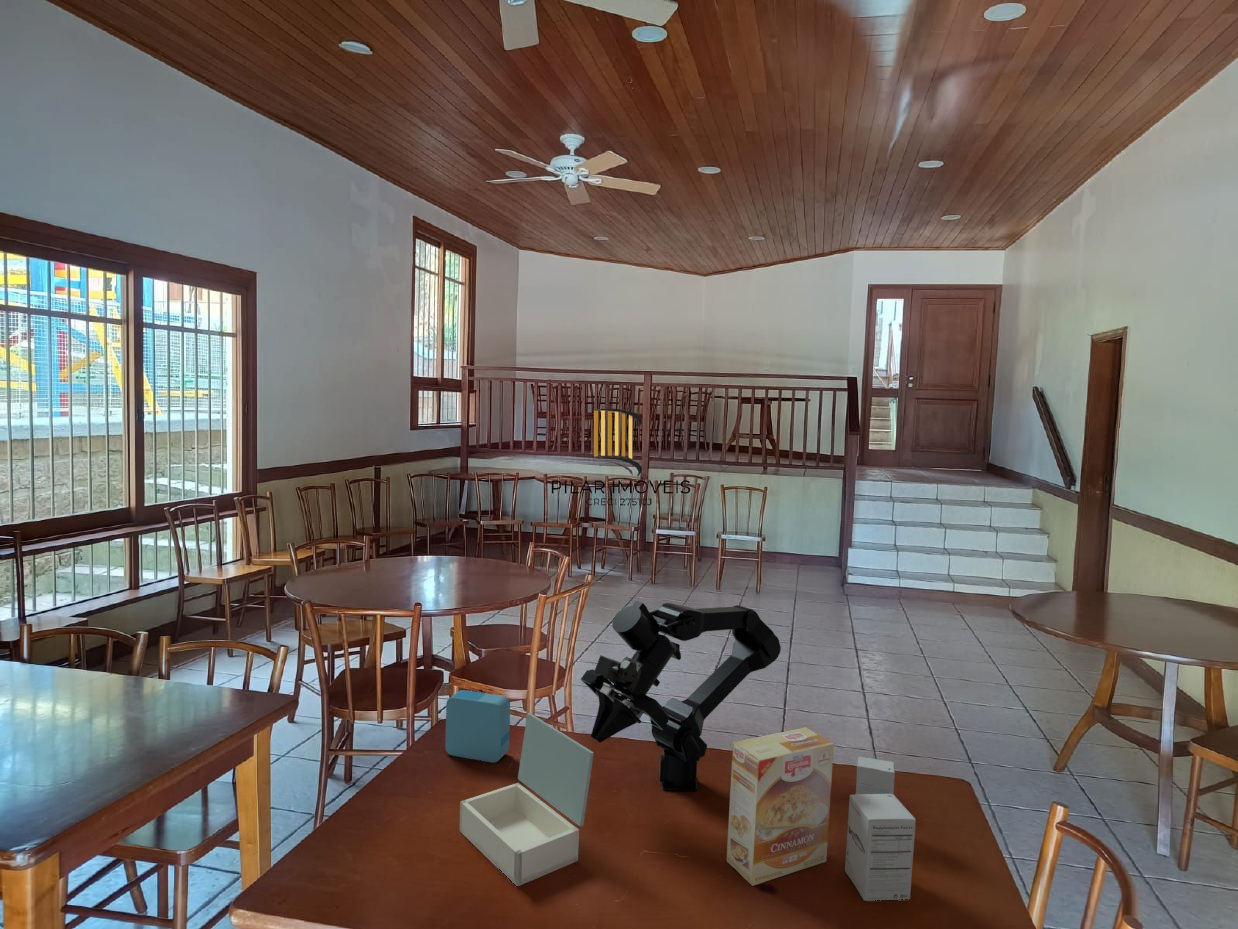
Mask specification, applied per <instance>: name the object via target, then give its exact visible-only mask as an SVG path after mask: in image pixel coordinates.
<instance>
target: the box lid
mask: <svg viewBox="0 0 1238 929" xmlns="http://www.w3.org/2000/svg"><path fill="white" fill-rule="evenodd" d="M525 720H526V721H525V726H524V732H523V733H524V734H523V740H522V748H521V754H520V761H519V767H518V774H517V780H518V781H520V783H523V784H524V785H525V786H526V787H527V788H529V789H530V790H532V791H533V792H535V794H537V795H538V796H539V797H540V798H542V799H543V800H545V801H546V802H547V803H549V805H551V806H553V807H554V808H555V809H557V810H558V811H559V812H560V813H561V814H563V816H566V817H567V818H568V819H570V820H571V821H572V822H573V823H574V824H576V825H577V826H579V827H584V822H585V816H586V811H587V810H586V809H587V801H588V795H589V788H590V782H591V774H592V769H593V768H592V767H593V760H594V753H595V752H594V751H592V750H590V749H589V748H587V747H586V746H584V745H582V744H580V743H579V742H578V741H576V740H574V739H573V738H571V737H569V735H566V734H564V733H563V732H561V731H560V730H558V729H556V728H555V727H553V726H552V725H550V724H549V723H547V722H545V720H544V721H543V719H540V718H539V717H537V716H536V715H534V714H533V713H531V712H528V713H527V715H526V719H525Z"/></svg>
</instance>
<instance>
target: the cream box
mask: <svg viewBox="0 0 1238 929" xmlns="http://www.w3.org/2000/svg"><path fill="white" fill-rule="evenodd" d="M459 832H460V833H461V834H462V835H463V836H464V837H465V838H466V839H467V840H468V841H470V842H471V844H473V846H474V847H475V848H476V849H478V851H479V852H480V853H482V854H483V855H484V856H485V858H487V859H488V860H489V861H490V862H491V863H492V865H493V866H495V867H496V868H497V869H498V870H499V869H500V870H501V871H502V872H501V871H500V870H499V871H500V872H501V874H503V873H504V874H505V875H506V876H507V877H508V878H509V879H510V880H511V881H512V882H511V881H510V880H509V879H508V878H507V877H506V876H505V875H504V874H503V875H504V876H505V877H506V878H507V879H508V880H509V881H510V882H511V884H513V883H514V884H515V885H516V886H518V887H519V886H522V885H525V884H526V883H527V884H528V883H530V882H532V881H534V880H536V879H539V878H541V877H543V876H547V875H548V874H550V873H553V872H555V871H557V870H560V869H562V868H564V867H567V866H569V865H571V864H574V863H577V862H578V861H579V844H580V843H579V840H580V829H579V828H577V826H575V825H574V824H572V823H571V822H569V820H567V819H566V818H565V817H563V816H562V815H560V813H558V812H557V811H555V810H554V809H553V808H552V807H550V806H549V805H547V804H546V803H545V802H544V801H542V799H540V798H538V797H537V796H536V795H535V794H533V793H532V792H531V791H530V790H528V789H527V788H526V787H524V786H523V785H522V784H520V783H519V782H516V783H513V784H511V785H508V786H507V785H506V786H504V787H500V788H498V789H494V790H492V791H488V792H486V793H485V792H484V793H482V794H480V795H476V796H474V797H470V798H467V799H463V800H460V802H459ZM514 884H513V885H514ZM515 885H514V886H515ZM516 886H515V887H516Z"/></svg>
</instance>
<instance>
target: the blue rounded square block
mask: <svg viewBox="0 0 1238 929" xmlns="http://www.w3.org/2000/svg"><path fill="white" fill-rule="evenodd" d="M510 702H511V701H510V699H509V698H508V697H507V696H504V695H499V694H493V693H487V692H480V691H474V690H473V691H472V690H465V689H461V690H458V691H457V692H456V693H454V694H453V695H451V697H449V698H448V699H447V700H446V703H445V751H446V753H448V755H450V756H452V757H459V758H463V759H469V760H476V761H480V760H481V761H482V762H488V763H495V764H496V763H498V762H499V761H501V759H502V758H503V757H504V756H505V755H506V754H507V753H508V751H509V749H510V729H511V728H510V726H511V724H510V723H511V722H510V721H511V703H510Z"/></svg>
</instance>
